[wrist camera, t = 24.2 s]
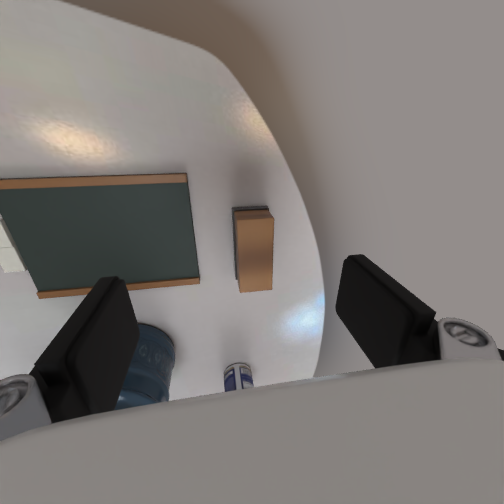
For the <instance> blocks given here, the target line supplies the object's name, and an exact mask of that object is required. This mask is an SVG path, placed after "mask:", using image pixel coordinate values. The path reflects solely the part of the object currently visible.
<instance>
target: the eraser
mask: <svg viewBox="0 0 504 504" xmlns="http://www.w3.org/2000/svg"><path fill="white" fill-rule="evenodd" d="M232 222H233V242H234V261H235V277H236V280H238V285H239V291H240V293H244V292H254V291H263V290H272V274H273V239H274V217H273V216H272V215H271V214H270V212H269V208H268V206H256V207H237V208H232Z"/></svg>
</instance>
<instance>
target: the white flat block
mask: <svg viewBox="0 0 504 504" xmlns="http://www.w3.org/2000/svg"><path fill="white" fill-rule="evenodd" d="M15 245H16V244H15V242H14V240H13V238H12V236H11V234H10V232H9V230H8V228H7V226H6V224H5V222H4V220H3V219H0V248H5V247H13V246H15Z"/></svg>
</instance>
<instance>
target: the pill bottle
mask: <svg viewBox="0 0 504 504" xmlns="http://www.w3.org/2000/svg"><path fill="white" fill-rule="evenodd" d="M224 387H225V392H228V391H234V390H240V389H247V388H253V387H254V386H253V380H252V374H251V370H250V368H249V367H248V366H247V365H245V364H234V365H231V366H229V367H228V368H227V369H226V370H225V372H224Z"/></svg>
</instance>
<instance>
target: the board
mask: <svg viewBox="0 0 504 504" xmlns="http://www.w3.org/2000/svg"><path fill="white" fill-rule="evenodd" d="M0 213H1V215H2V217H3V220H4V222H5V224H6V226H7V228H8V230H9V232H10V234H11V236H12V238H13V240H14V242H15V244H16V246H17V248H18V250H19V253H20V255H21V257H22V259H23V261H24V263H25V265H26V267H27V269H28V271H29V273H30V275H31V277H32V279H33V281H34V283H35V286H36V288H37V290H38V292H37V295H38V297H39V299H43V298H54V297H64V296H75V295H86V294H88V293H89V292H90V291H91V289H92V288H93V287H94V285H95V284H96V283H97V281H98V280H99V279H100V278H101V277H110V276H118V277H119V278H120V279H124V281H125V283H126V287H127V290H139V289H149V288H160V287H171V286H181V285H192V284H200V277H199V269H198V261H197V253H196V245H195V237H194V229H193V221H192V213H191V205H190V197H189V189H188V181H187V173H171V174H140V175H109V176H78V177H47V178H16V179H0Z"/></svg>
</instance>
